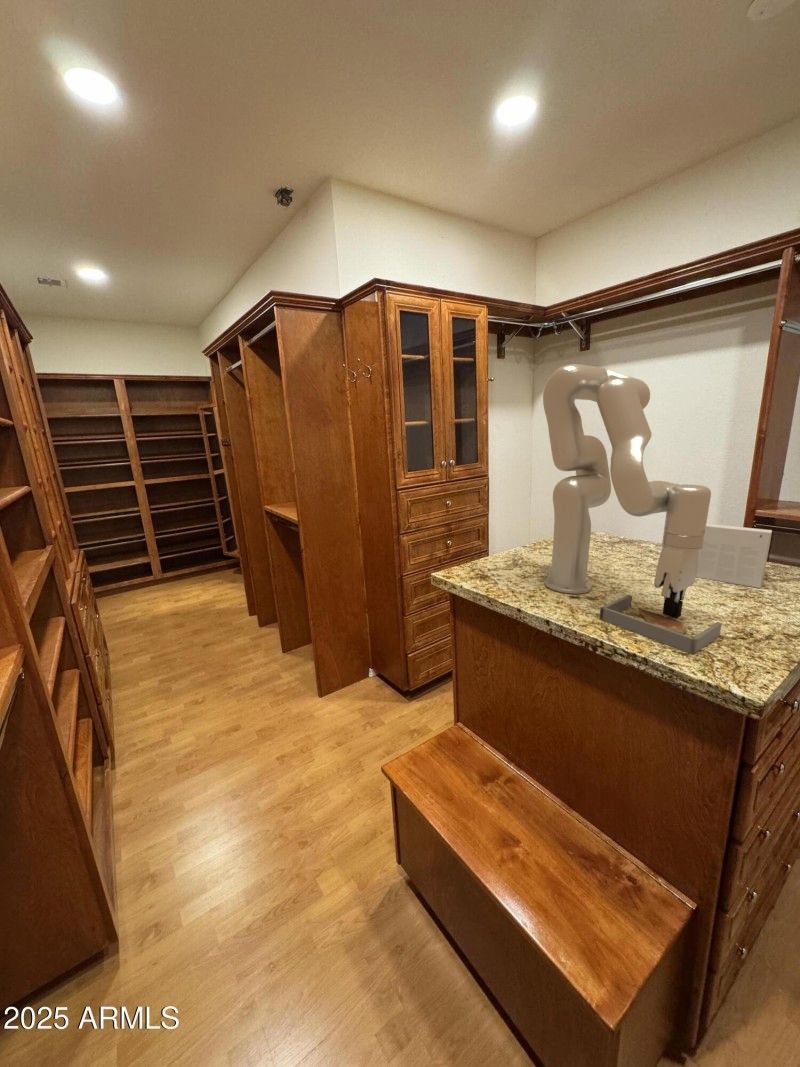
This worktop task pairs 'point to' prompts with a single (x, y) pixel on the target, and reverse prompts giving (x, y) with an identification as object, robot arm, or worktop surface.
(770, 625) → the worktop surface
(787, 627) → the worktop surface
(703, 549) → the skincare box
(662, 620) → the shard
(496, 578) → the worktop surface
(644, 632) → the grey u-shaped bracket
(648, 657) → the worktop surface
